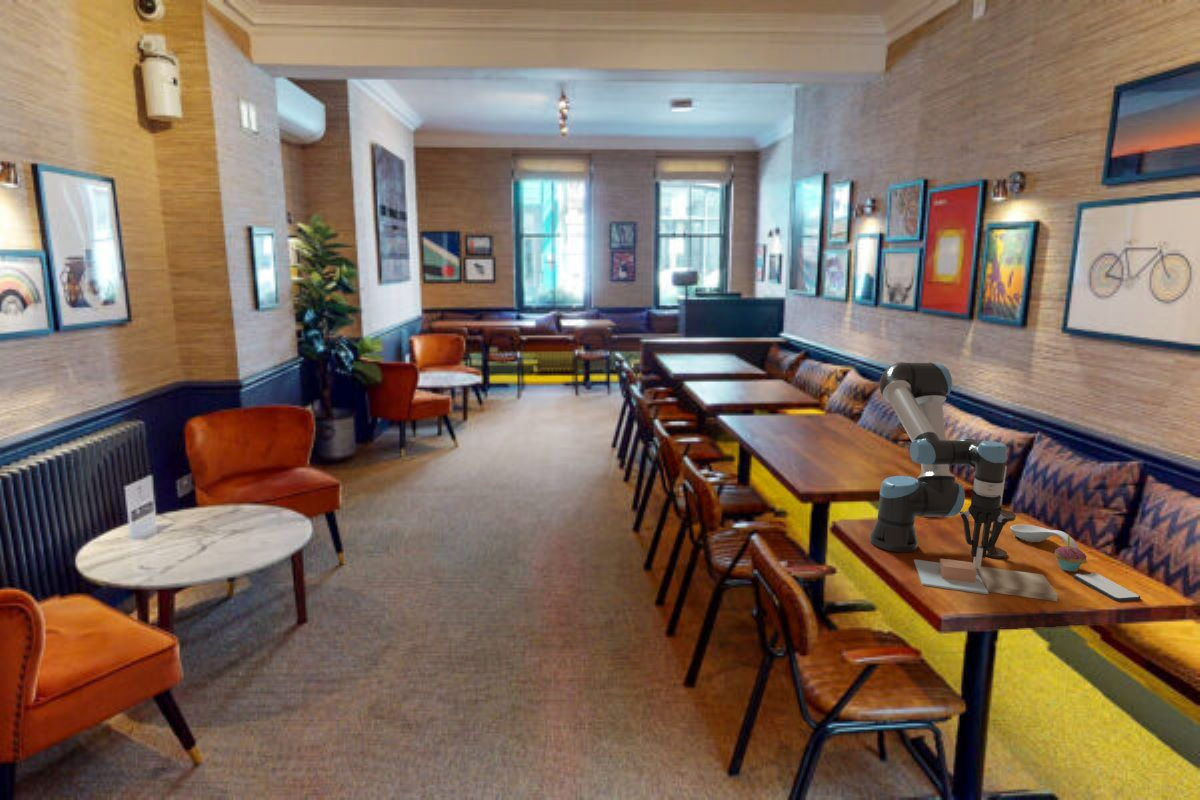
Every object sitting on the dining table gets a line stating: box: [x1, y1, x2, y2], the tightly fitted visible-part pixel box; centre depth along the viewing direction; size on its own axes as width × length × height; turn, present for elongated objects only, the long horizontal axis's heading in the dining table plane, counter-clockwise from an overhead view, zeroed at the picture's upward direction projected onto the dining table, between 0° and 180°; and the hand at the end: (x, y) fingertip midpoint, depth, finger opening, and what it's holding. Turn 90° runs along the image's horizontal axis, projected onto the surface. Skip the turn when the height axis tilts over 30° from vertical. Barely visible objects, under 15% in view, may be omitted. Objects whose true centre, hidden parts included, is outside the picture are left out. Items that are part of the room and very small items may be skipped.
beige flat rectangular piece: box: [976, 565, 1059, 602], centre depth 206 cm, size 18×14×2 cm
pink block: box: [939, 558, 977, 583], centre depth 210 cm, size 9×6×4 cm, turn 74°
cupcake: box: [1054, 533, 1087, 572], centre depth 218 cm, size 9×8×12 cm
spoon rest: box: [1010, 524, 1080, 550], centre depth 237 cm, size 24×12×7 cm, turn 17°
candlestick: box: [985, 452, 1017, 560], centre depth 227 cm, size 11×11×35 cm
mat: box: [913, 559, 989, 595], centre depth 212 cm, size 18×18×1 cm
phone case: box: [1073, 572, 1141, 603], centre depth 206 cm, size 9×2×16 cm
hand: (976, 566), depth 209 cm, fingers closed
